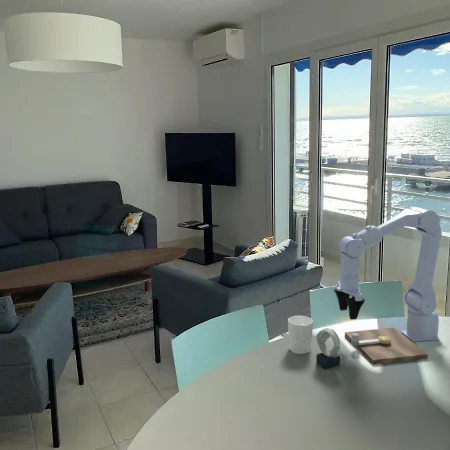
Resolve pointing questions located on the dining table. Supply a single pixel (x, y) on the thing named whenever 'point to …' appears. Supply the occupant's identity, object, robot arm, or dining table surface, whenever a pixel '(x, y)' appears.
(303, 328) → the white cup
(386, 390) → the dining table surface
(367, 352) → the brown wooden board
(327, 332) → the watch
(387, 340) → the lever
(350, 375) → the dining table surface
